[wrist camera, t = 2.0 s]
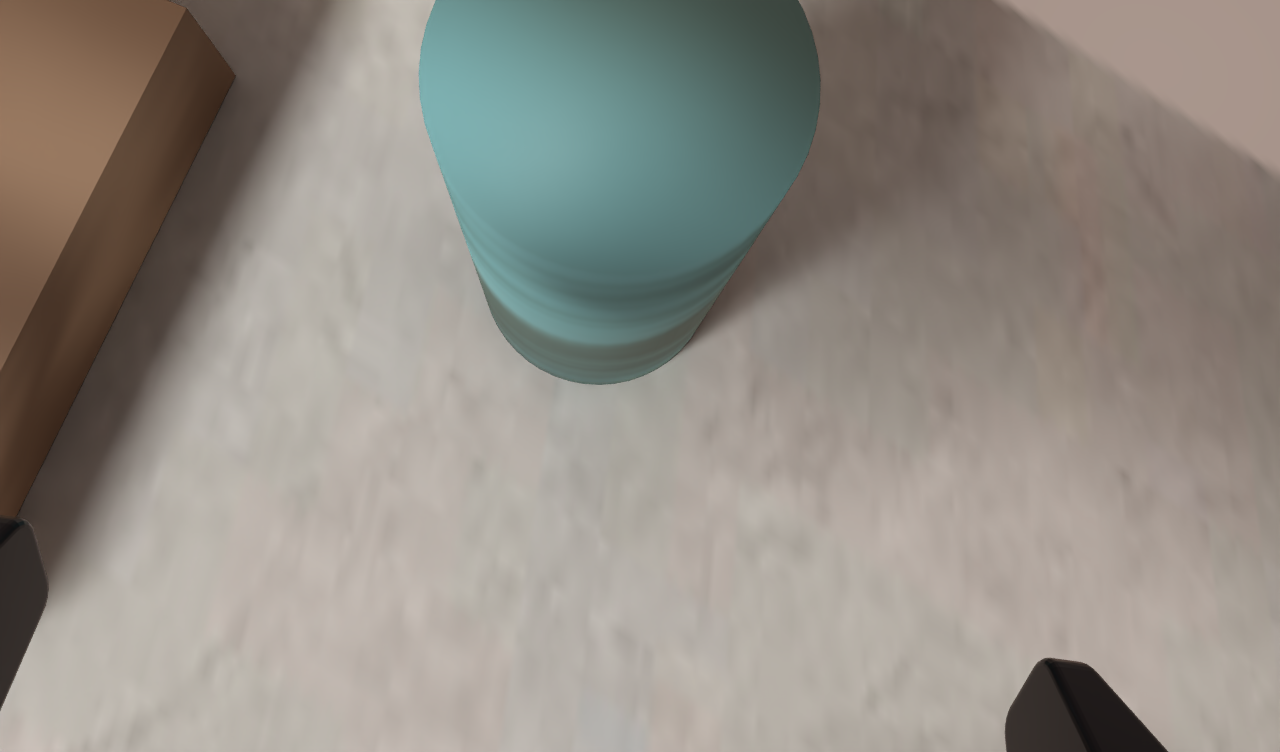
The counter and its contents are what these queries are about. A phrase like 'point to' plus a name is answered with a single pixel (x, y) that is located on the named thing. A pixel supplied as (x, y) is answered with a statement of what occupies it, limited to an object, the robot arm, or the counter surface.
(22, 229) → the walnut socket block
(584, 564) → the counter surface
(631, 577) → the counter surface
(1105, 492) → the counter surface
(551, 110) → the teal peg
